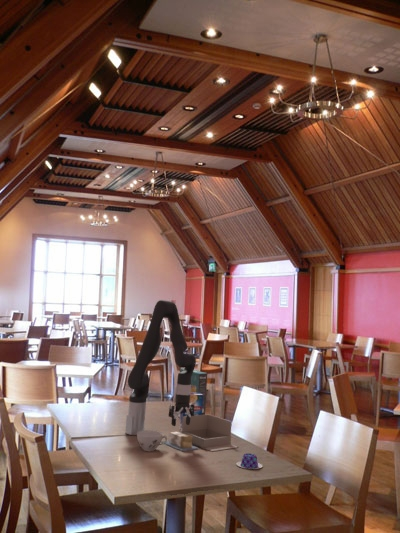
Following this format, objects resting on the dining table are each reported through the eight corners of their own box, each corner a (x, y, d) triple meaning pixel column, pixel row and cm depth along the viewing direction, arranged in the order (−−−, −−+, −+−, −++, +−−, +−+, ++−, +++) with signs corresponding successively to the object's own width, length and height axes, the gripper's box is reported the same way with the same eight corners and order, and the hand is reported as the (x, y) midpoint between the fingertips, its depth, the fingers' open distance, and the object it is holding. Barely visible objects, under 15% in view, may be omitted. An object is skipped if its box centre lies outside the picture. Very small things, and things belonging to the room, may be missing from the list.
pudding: (250, 472, 247) (251, 460, 247) (230, 465, 255) (231, 453, 256) (267, 467, 255) (268, 456, 256) (247, 461, 264) (248, 449, 264)
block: (168, 442, 286) (169, 431, 287) (176, 441, 289) (177, 430, 290) (184, 448, 276) (184, 437, 276) (191, 447, 279) (192, 436, 279)
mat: (182, 451, 273) (182, 450, 273) (161, 442, 287) (161, 441, 287) (198, 449, 279) (198, 447, 279) (177, 440, 293) (177, 439, 293)
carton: (211, 451, 276) (213, 427, 276) (181, 439, 296) (182, 416, 297) (238, 447, 286) (239, 423, 287) (207, 436, 307) (208, 414, 307)
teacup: (137, 453, 265) (138, 436, 265) (134, 446, 277) (135, 430, 277) (168, 453, 268) (170, 436, 269) (163, 446, 280) (165, 430, 281)
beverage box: (200, 435, 309) (203, 394, 310) (181, 435, 306) (184, 394, 308) (198, 432, 315) (200, 392, 317) (179, 432, 313) (181, 392, 314)
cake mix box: (204, 423, 340) (207, 373, 342) (196, 423, 337) (199, 373, 339) (185, 415, 358) (187, 368, 360) (177, 416, 355) (180, 368, 357)
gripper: (190, 391, 291) (187, 422, 290) (167, 392, 283) (164, 424, 282) (198, 393, 285) (196, 425, 284) (175, 395, 277) (173, 428, 276)
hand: (180, 425), depth 283 cm, fingers open, 8 cm apart
